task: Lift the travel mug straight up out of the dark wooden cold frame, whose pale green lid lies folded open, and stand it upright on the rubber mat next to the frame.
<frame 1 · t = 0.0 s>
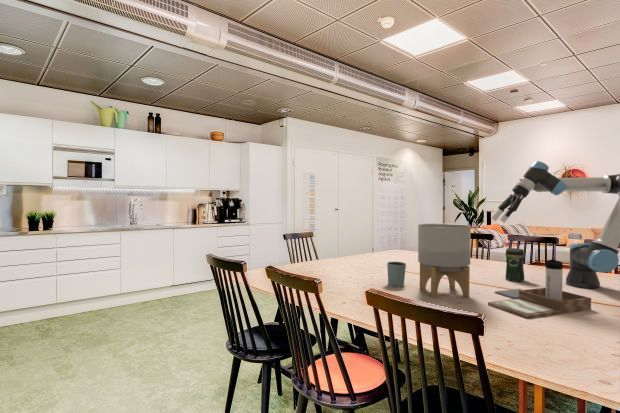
hand: (497, 220, 195), 36 cm above the table, tool tilted 35°, fingers open, 13 cm apart
potting mat: (517, 294, 182), on the table
planter: (443, 293, 186), on the table
cold frame: (553, 305, 164), on the table
coffee jar: (514, 280, 214), on the table
blue-grey cup: (396, 285, 204), on the table
travel mug: (553, 305, 164), resting in cold frame
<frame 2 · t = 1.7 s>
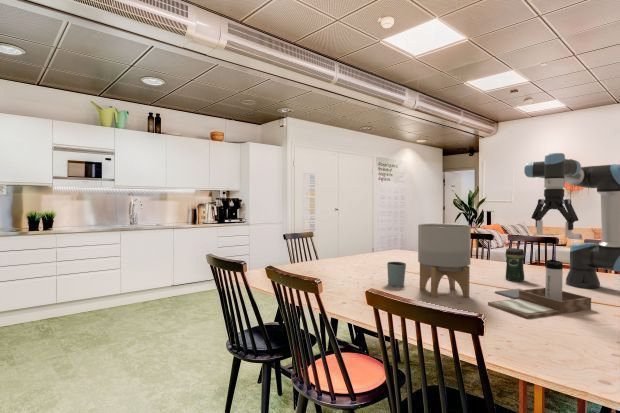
hand: (553, 236, 164), 31 cm above the table, tool pointing down, fingers open, 13 cm apart
nothing on the table moved.
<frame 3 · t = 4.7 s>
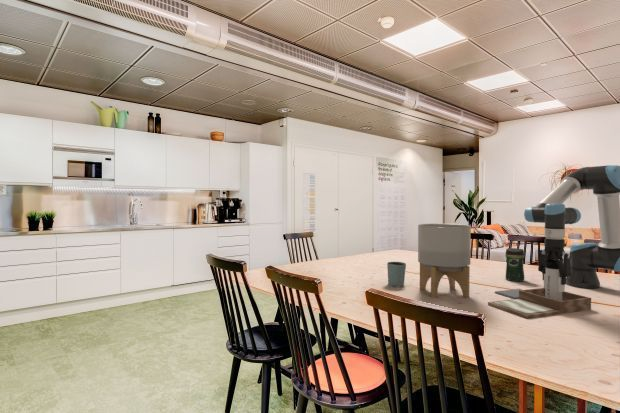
hand: (553, 289, 164), 7 cm above the table, tool pointing down, fingers closed on travel mug, 6 cm apart
travel mug: (553, 305, 164), resting in cold frame, touching gripper
everything else where it was.
when the fingers open (9 cm above the table, at t = 10.6 s): travel mug drops 2 cm, resting on potting mat.
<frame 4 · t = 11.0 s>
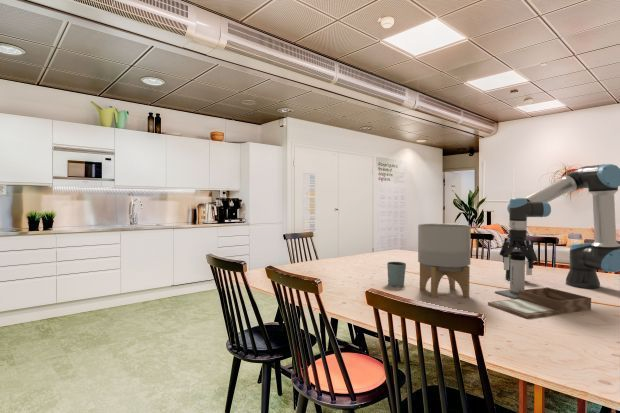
hand: (517, 272, 182), 11 cm above the table, tool pointing down, fingers open, 12 cm apart
travel mug: (517, 293, 182), point 1 cm above the table, touching potting mat
everything else where it was.
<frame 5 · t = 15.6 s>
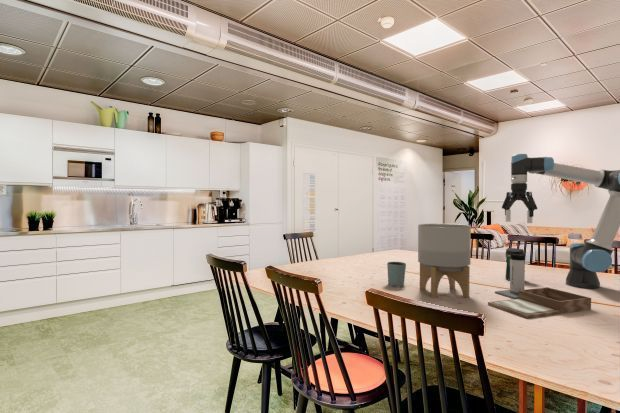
hand: (518, 222, 198), 35 cm above the table, tool pointing down, fingers open, 13 cm apart
nothing on the table moved.
at the end: travel mug inside the target area on the potting mat (0.1 cm from its centre), point 0.6 cm above the potting mat's base; travel mug tilted 0°; the gripper is holding nothing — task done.
